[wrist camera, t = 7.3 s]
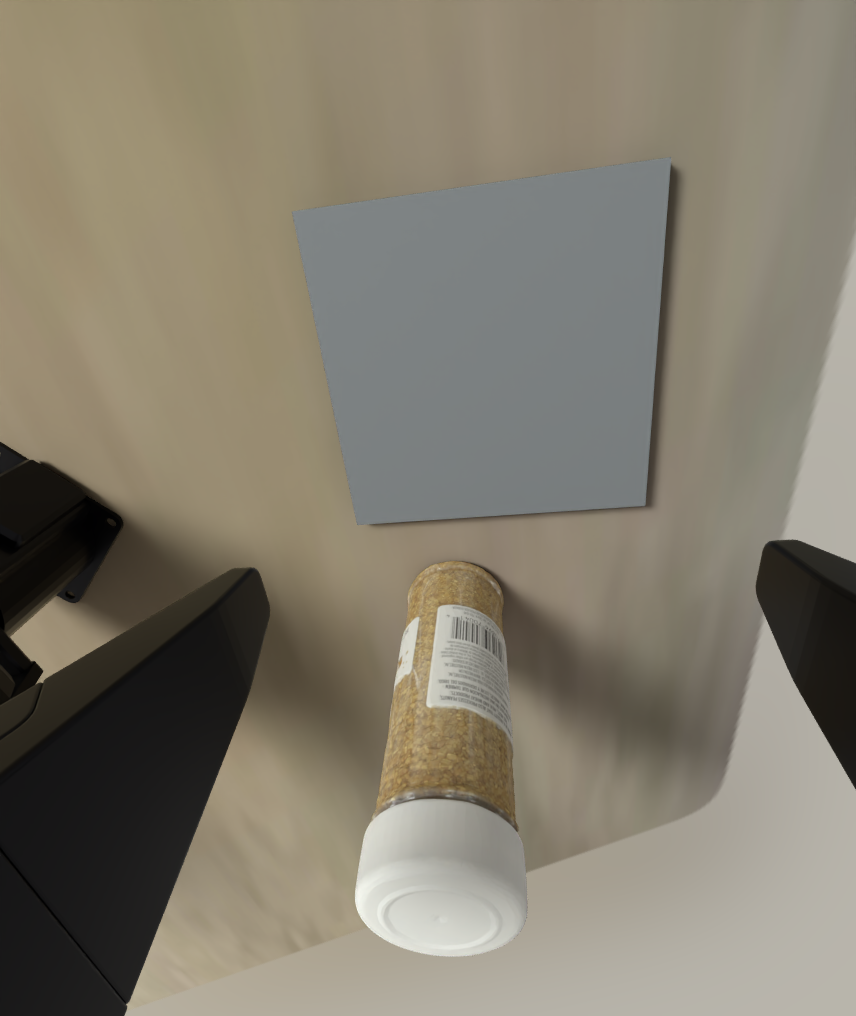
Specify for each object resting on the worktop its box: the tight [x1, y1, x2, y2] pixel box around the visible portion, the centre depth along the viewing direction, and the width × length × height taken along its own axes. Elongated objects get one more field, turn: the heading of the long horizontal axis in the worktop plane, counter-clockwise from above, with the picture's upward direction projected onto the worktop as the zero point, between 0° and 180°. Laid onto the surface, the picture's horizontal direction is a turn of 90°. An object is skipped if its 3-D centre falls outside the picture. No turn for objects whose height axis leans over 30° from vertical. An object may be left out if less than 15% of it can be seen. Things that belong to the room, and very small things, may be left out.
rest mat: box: [292, 157, 671, 525], centre depth 20 cm, size 12×12×1 cm
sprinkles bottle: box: [355, 561, 528, 957], centre depth 20 cm, size 5×5×13 cm
